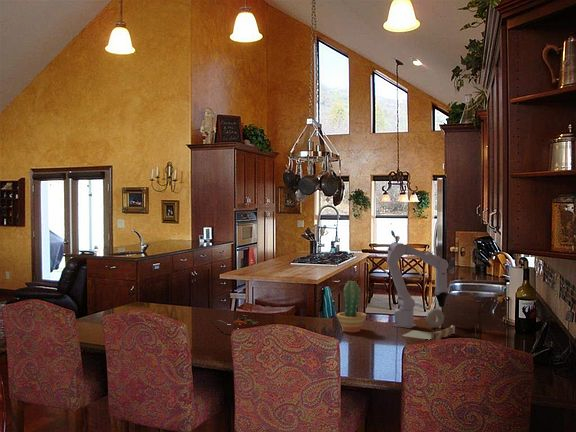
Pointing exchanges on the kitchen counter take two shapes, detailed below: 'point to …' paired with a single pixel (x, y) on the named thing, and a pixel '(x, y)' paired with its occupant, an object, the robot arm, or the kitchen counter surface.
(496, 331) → the kitchen counter surface
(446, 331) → the gate
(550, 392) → the kitchen counter surface
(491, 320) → the kitchen counter surface
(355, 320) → the potted cactus
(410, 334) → the mat
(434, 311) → the donut
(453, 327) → the gate post
